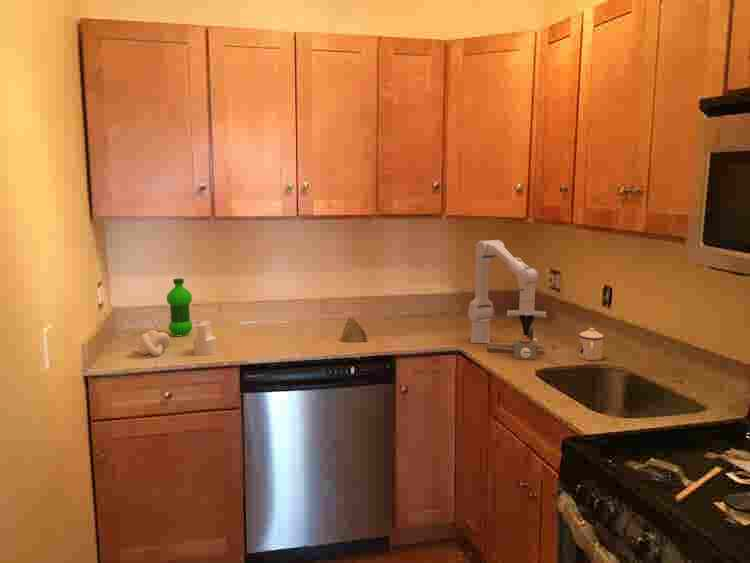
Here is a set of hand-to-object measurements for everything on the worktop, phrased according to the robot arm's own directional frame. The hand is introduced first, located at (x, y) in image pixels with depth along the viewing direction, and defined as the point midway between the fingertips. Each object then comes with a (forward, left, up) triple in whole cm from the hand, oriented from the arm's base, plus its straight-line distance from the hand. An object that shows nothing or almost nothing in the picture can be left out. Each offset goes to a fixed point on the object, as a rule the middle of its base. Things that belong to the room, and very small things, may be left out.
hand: (525, 334), depth 243 cm
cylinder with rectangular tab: (+15, -125, -9) cm, 126 cm away
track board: (-9, -3, -9) cm, 13 cm away
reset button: (0, 0, -4) cm, 4 cm away
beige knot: (+20, -145, -9) cm, 147 cm away
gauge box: (0, 0, -9) cm, 9 cm away
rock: (-13, -70, -9) cm, 72 cm away
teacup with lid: (-2, +25, -9) cm, 27 cm away
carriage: (-9, +3, -7) cm, 12 cm away
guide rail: (-9, -3, -7) cm, 12 cm away
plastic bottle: (-11, -148, -9) cm, 149 cm away
